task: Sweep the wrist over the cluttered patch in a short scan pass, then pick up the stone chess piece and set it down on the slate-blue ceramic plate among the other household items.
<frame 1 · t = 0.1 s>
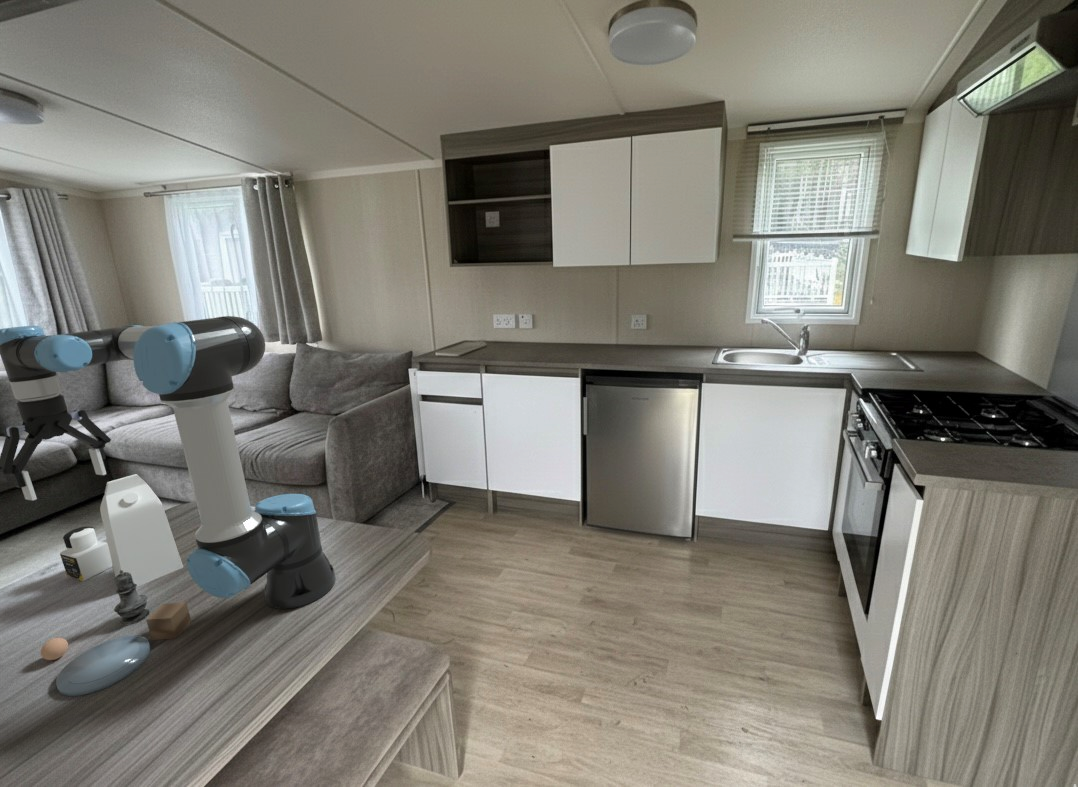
hand: (68, 486, 116), 28 cm above the table, fingers open, 13 cm apart
milk: (149, 571, 131), on the table
plate: (106, 666, 99), on the table
walnut block: (172, 630, 108), on the table
stone chess piece: (135, 618, 113), on the table
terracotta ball: (54, 648, 101), point 2 cm above the table
medicine bottle: (91, 572, 132), on the table
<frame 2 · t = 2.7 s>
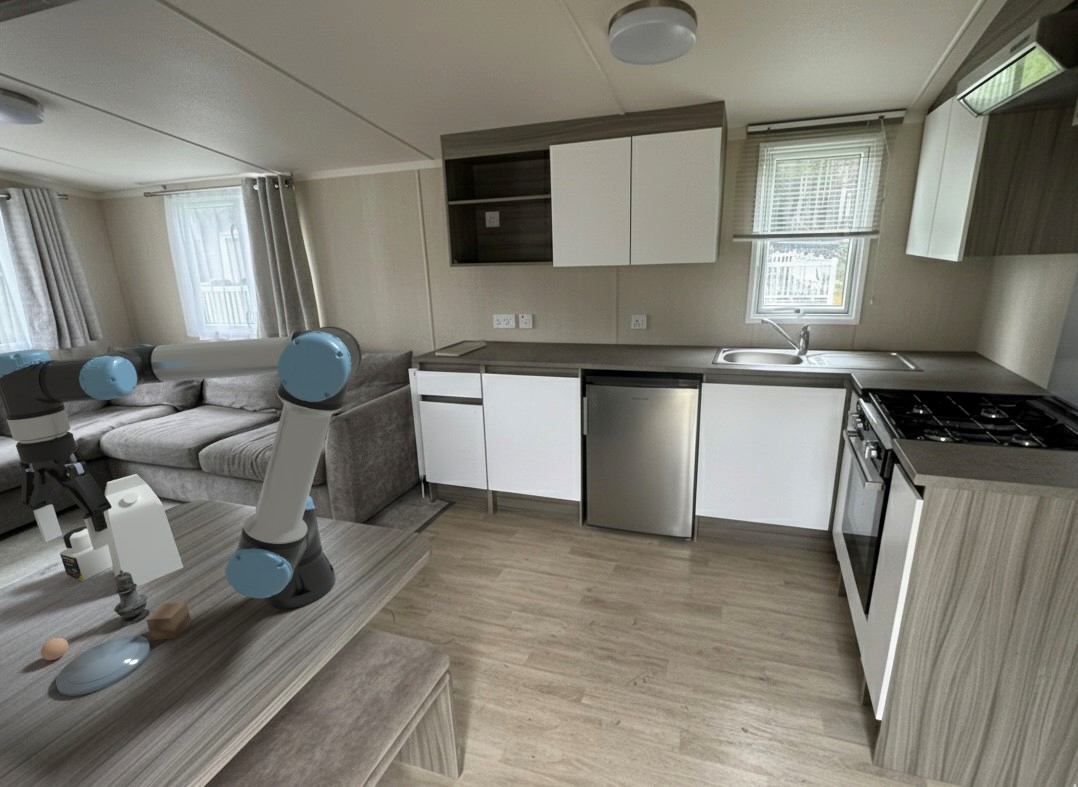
hand: (77, 542, 96), 25 cm above the table, fingers open, 13 cm apart
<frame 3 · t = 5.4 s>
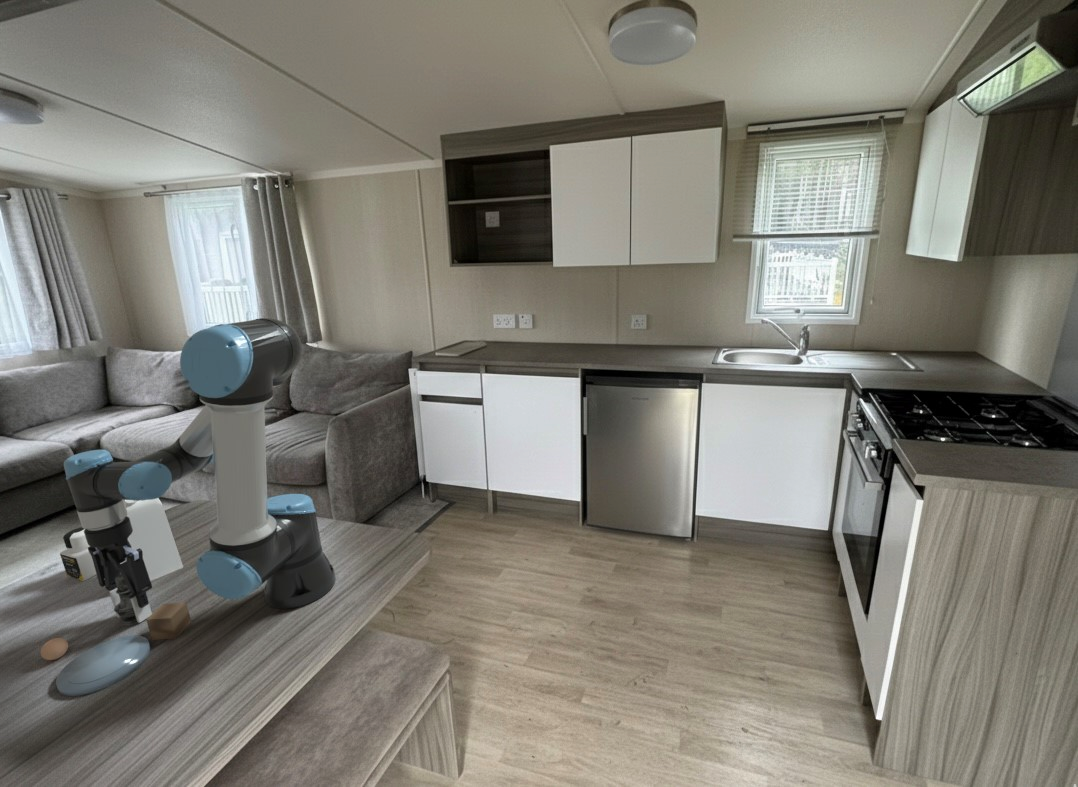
hand: (134, 615, 113), 0 cm above the table, fingers closed on stone chess piece, 6 cm apart
stone chess piece: (135, 617, 113), on the table, touching gripper
everything else where it was.
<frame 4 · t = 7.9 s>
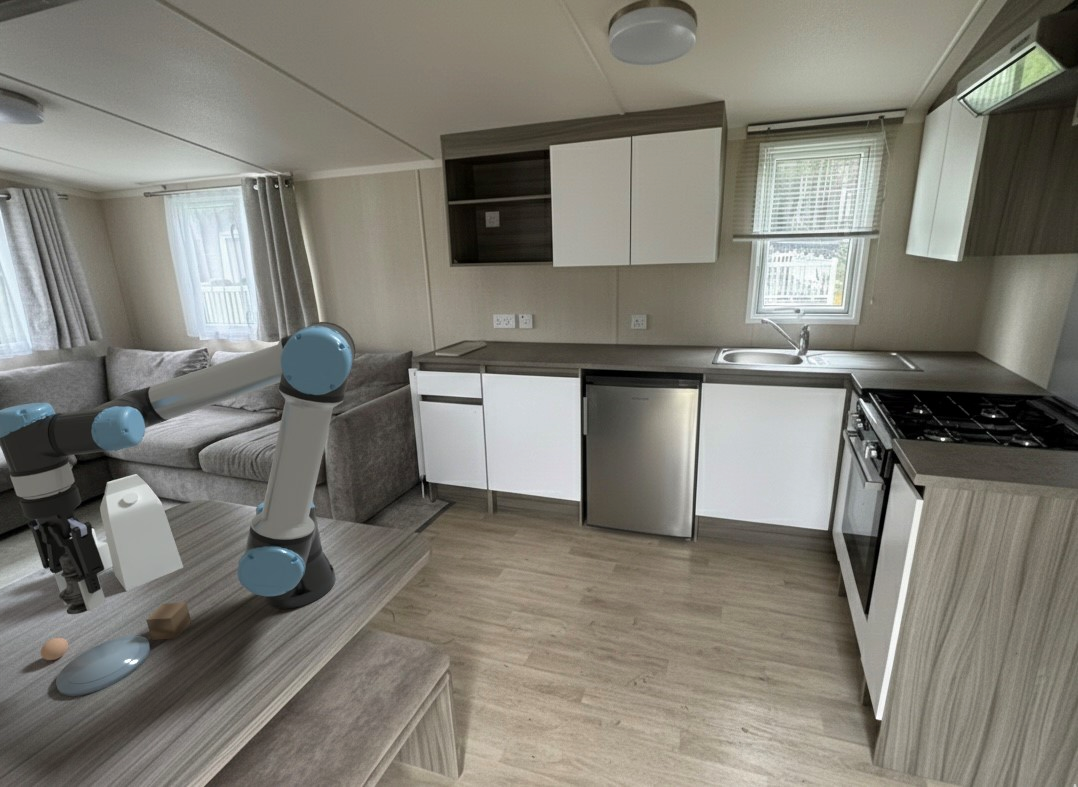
hand: (85, 603, 95), 14 cm above the table, fingers closed on stone chess piece, 6 cm apart
stone chess piece: (85, 605, 95), point 14 cm above the table, touching gripper
everything else where it was.
when the fingers open (3 cm above the table, at t = 10.2 s): stone chess piece drops 1 cm, resting on plate.
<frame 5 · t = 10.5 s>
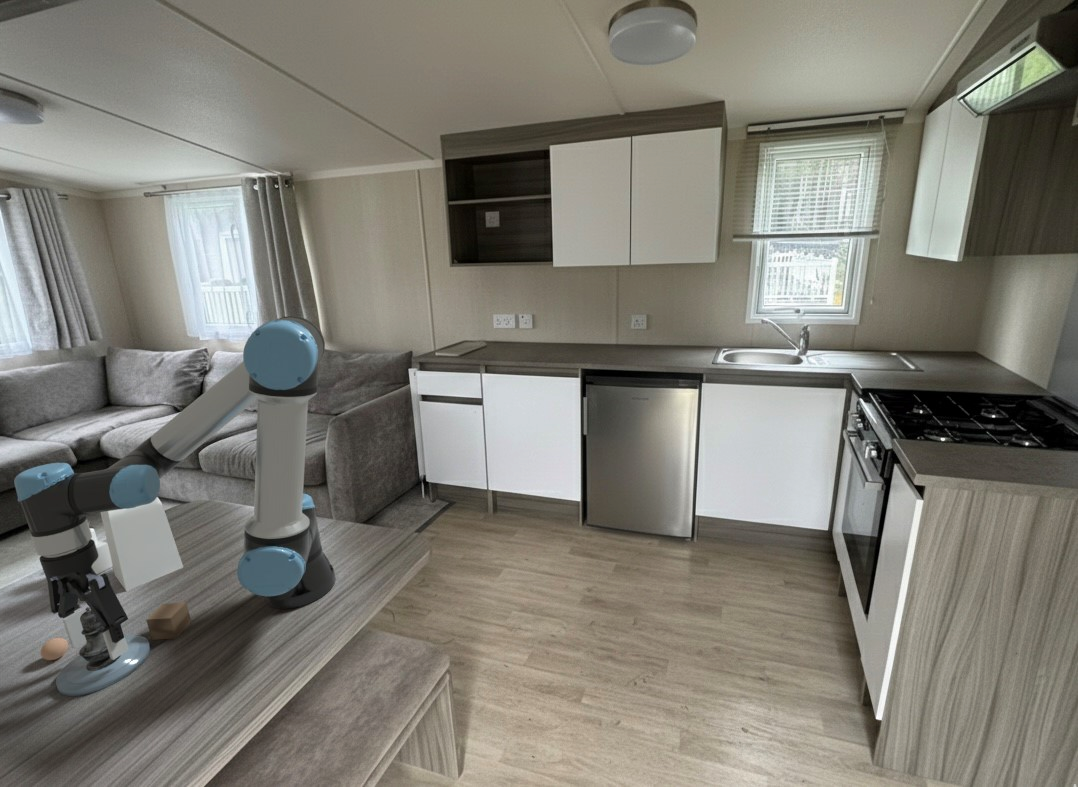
hand: (100, 648, 98), 4 cm above the table, fingers open, 10 cm apart
stone chess piece: (104, 661, 98), point 1 cm above the table, touching plate
everything else where it was.
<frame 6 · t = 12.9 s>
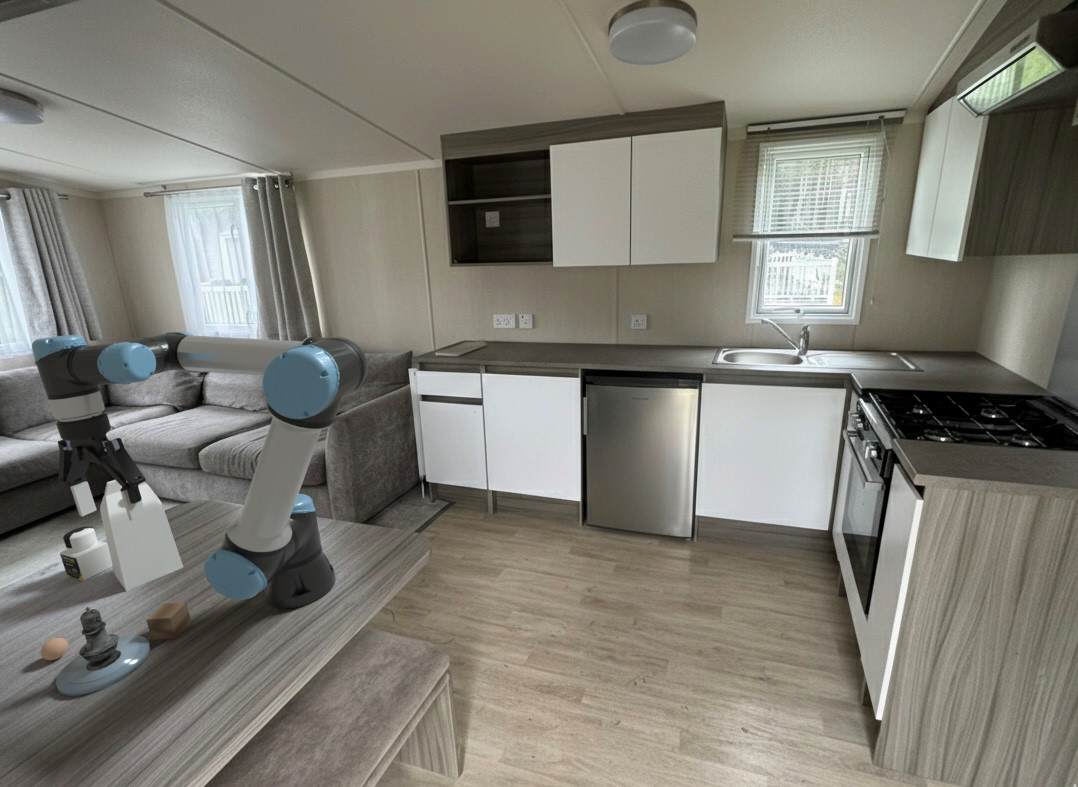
hand: (112, 515, 103), 27 cm above the table, fingers open, 13 cm apart
nothing on the table moved.
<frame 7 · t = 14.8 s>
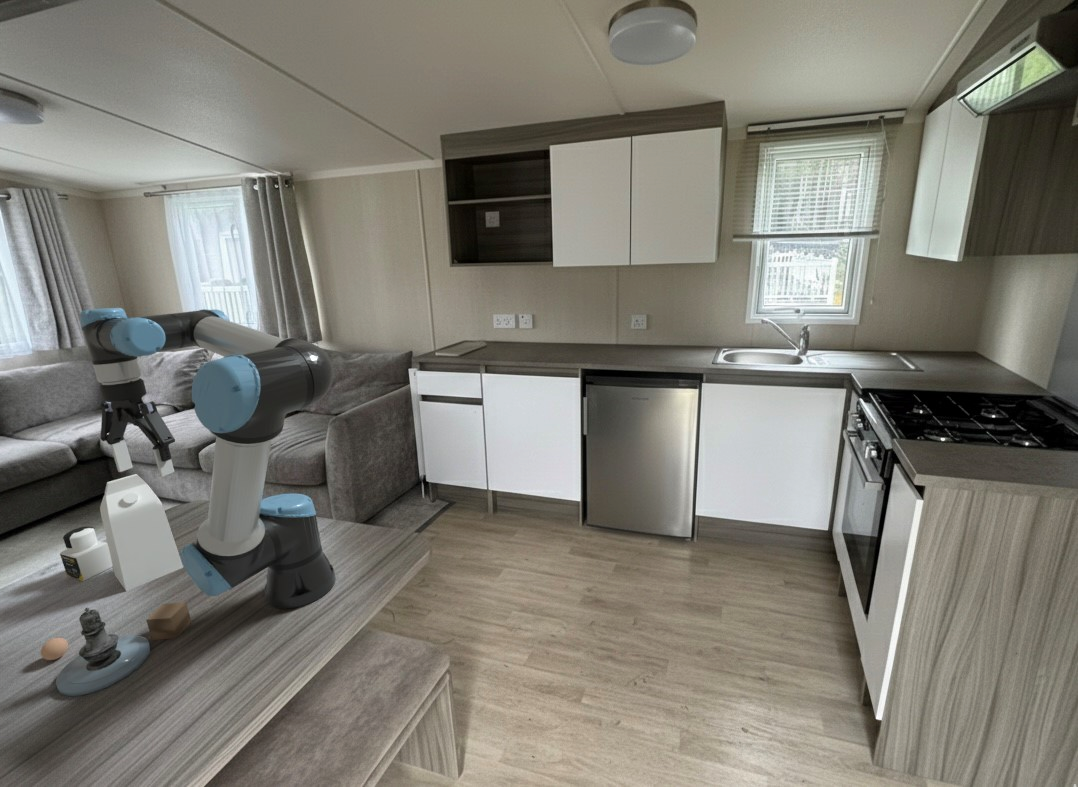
hand: (146, 472, 114), 31 cm above the table, fingers open, 13 cm apart
nothing on the table moved.
at the end: stone chess piece 0.0 cm from the plate (horizontally); stone chess piece tilted 0°; stone chess piece point 1.2 cm above the table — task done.
